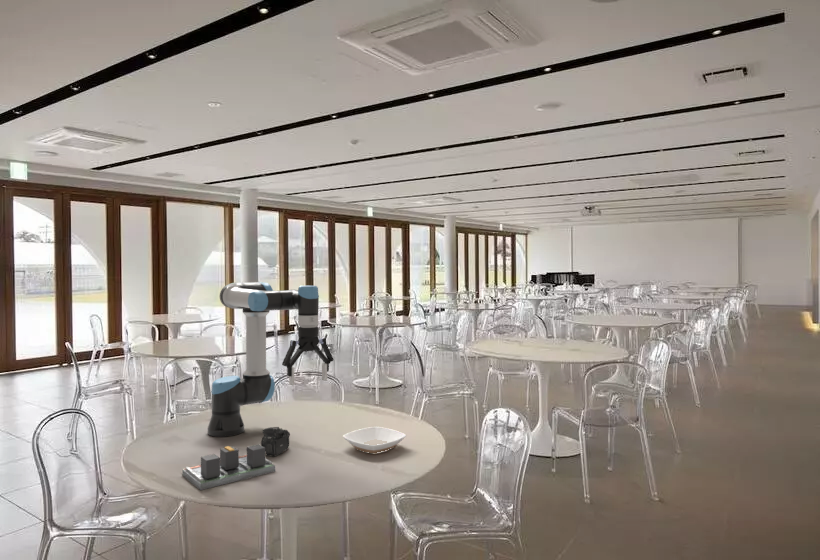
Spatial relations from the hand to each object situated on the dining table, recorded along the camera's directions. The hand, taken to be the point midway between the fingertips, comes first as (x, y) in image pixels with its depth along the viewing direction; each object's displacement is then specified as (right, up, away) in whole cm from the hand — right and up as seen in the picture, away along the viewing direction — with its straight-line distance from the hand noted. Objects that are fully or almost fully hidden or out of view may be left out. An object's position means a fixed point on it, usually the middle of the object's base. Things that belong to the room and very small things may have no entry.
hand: (308, 382), depth 210 cm
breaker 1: (-28, -26, -26) cm, 46 cm away
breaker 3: (-15, -26, -16) cm, 34 cm away
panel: (-24, -28, -18) cm, 41 cm away
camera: (-14, -28, +4) cm, 31 cm away
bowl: (+24, -28, +9) cm, 38 cm away
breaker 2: (-24, -26, -18) cm, 40 cm away
